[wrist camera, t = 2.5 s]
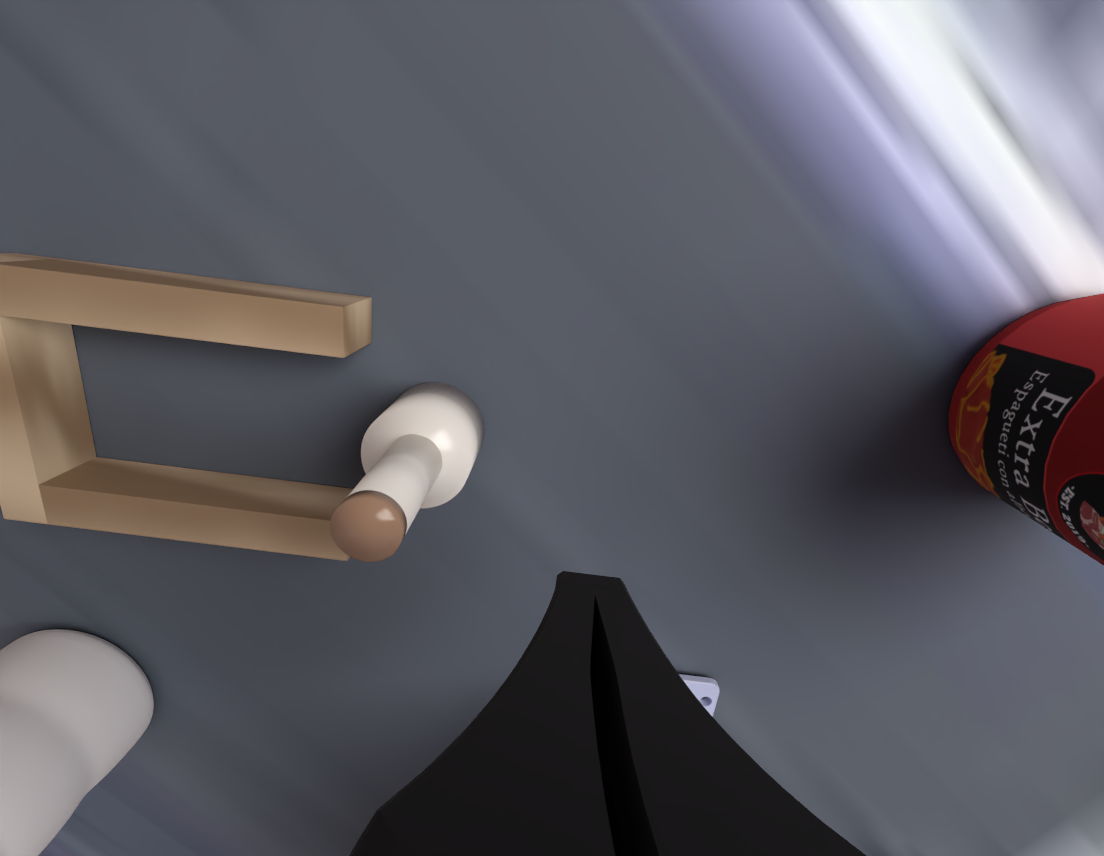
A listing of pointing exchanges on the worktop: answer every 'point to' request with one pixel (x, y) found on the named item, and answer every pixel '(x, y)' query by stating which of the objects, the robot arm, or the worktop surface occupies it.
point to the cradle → (140, 488)
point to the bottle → (408, 468)
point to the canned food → (1040, 419)
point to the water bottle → (62, 728)
